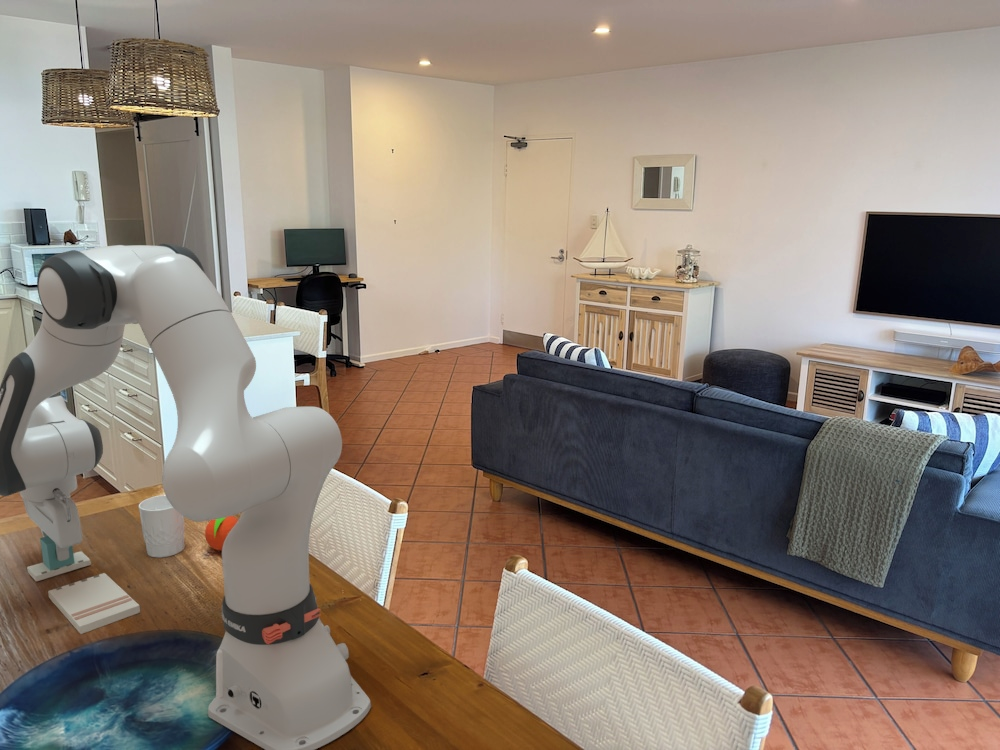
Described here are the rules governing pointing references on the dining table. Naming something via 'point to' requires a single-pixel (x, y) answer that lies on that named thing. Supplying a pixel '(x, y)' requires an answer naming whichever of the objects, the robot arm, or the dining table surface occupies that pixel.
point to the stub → (56, 561)
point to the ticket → (93, 602)
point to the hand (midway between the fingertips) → (57, 553)
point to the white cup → (161, 527)
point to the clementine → (219, 531)
